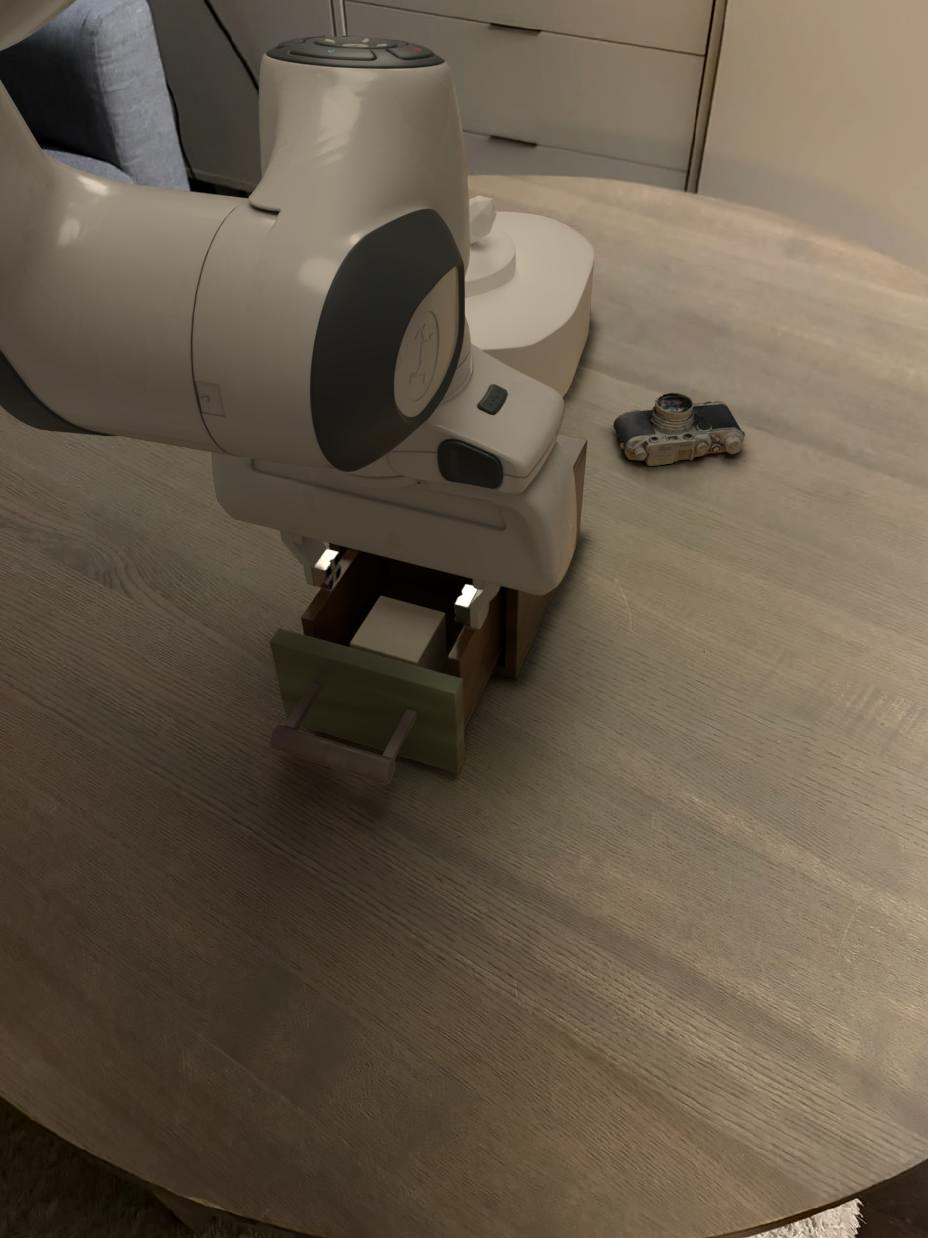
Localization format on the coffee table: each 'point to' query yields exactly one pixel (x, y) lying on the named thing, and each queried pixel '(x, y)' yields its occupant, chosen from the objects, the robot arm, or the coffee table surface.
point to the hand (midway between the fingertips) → (396, 599)
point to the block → (404, 634)
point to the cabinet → (524, 606)
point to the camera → (678, 430)
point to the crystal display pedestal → (528, 292)
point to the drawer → (381, 673)
